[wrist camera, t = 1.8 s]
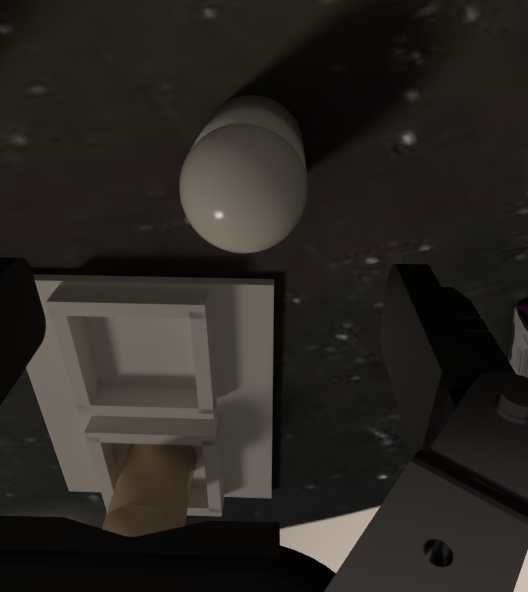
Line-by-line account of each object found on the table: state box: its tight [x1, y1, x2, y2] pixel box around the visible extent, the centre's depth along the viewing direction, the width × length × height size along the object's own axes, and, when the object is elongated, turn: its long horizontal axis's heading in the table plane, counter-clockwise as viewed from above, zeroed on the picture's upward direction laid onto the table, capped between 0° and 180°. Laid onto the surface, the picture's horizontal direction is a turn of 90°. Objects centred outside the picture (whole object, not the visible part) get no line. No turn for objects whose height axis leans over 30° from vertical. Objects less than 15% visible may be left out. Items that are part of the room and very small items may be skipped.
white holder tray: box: [26, 274, 274, 516], centre depth 28 cm, size 14×17×2 cm
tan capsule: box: [102, 443, 197, 537], centre depth 28 cm, size 4×4×7 cm
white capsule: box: [180, 95, 308, 253], centre depth 18 cm, size 4×4×7 cm
